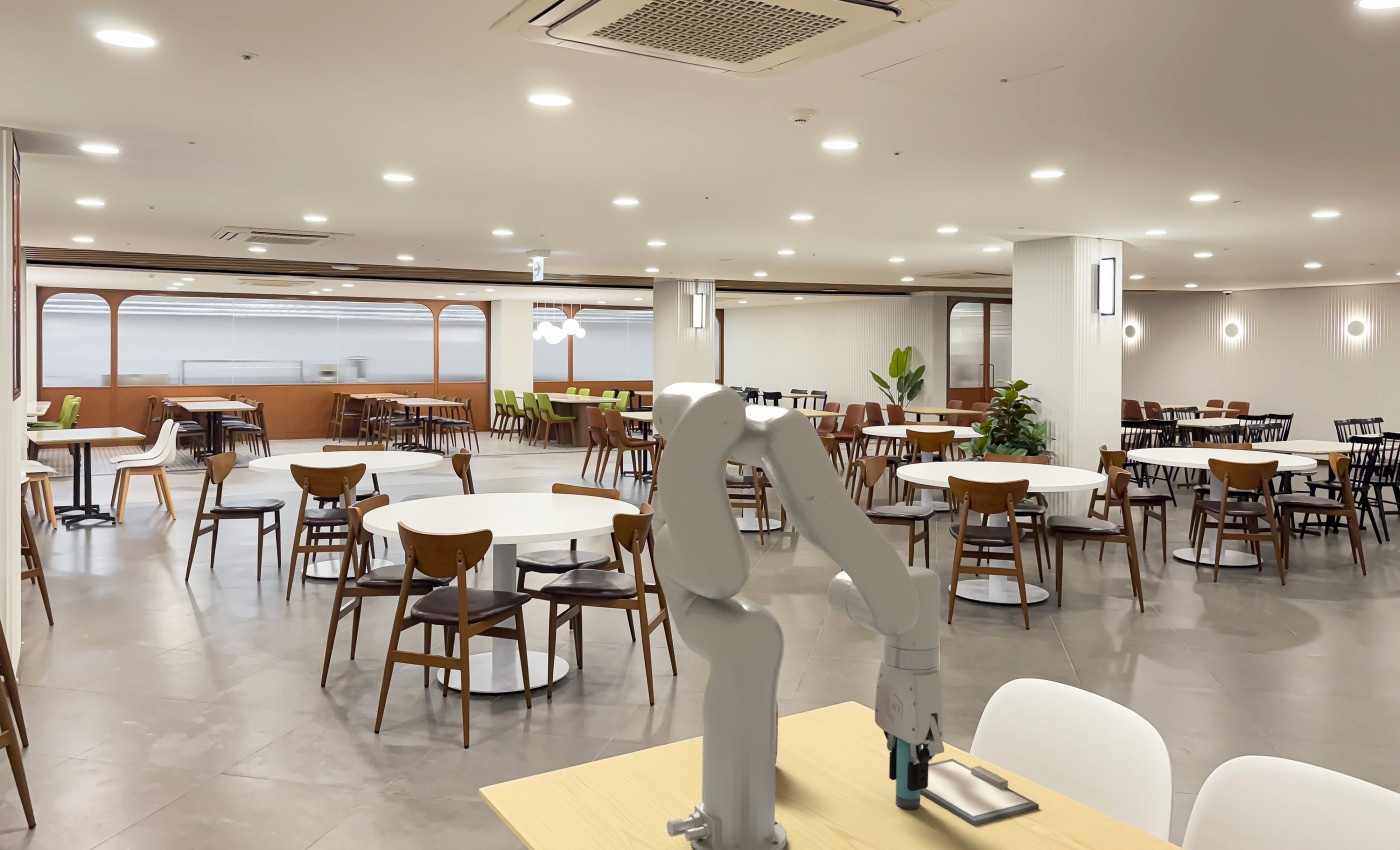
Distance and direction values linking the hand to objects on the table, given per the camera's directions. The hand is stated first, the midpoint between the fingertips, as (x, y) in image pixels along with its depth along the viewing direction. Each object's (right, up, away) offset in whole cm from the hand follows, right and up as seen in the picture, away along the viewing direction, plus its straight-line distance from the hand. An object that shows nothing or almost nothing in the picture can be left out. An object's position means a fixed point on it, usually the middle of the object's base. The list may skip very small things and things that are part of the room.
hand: (908, 782), depth 139 cm
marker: (0, -3, 0) cm, 3 cm away
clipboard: (+9, -3, +5) cm, 11 cm away
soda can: (-21, -3, +13) cm, 25 cm away
